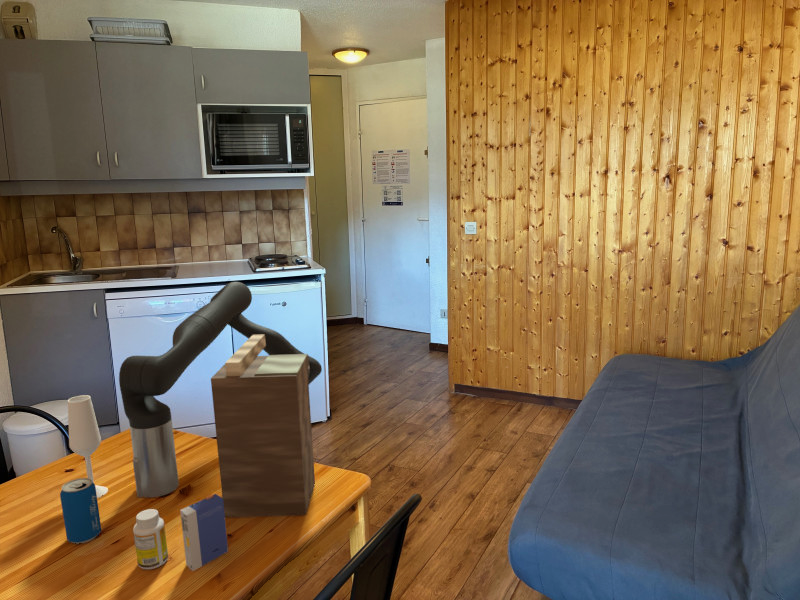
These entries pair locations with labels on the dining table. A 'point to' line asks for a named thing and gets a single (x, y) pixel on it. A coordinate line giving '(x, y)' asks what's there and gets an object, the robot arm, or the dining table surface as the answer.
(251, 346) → the pale wooden plank
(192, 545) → the blue cardboard box
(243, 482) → the walnut stand
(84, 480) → the beverage can
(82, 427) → the champagne flute
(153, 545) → the supplement bottle
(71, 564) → the dining table surface
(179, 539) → the dining table surface
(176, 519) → the dining table surface
